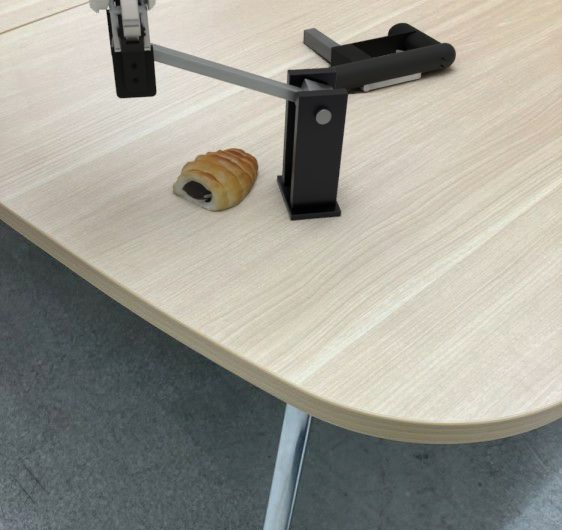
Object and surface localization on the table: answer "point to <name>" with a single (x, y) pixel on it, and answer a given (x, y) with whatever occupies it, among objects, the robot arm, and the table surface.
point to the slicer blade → (231, 74)
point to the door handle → (382, 57)
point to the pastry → (217, 178)
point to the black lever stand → (313, 146)
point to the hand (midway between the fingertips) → (133, 73)
